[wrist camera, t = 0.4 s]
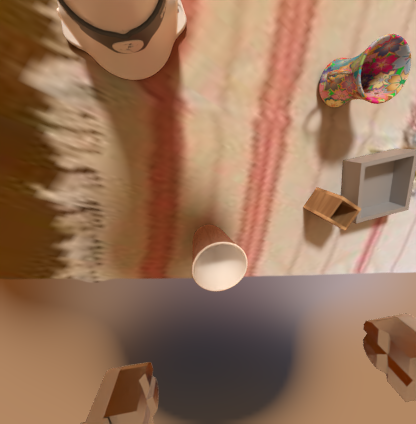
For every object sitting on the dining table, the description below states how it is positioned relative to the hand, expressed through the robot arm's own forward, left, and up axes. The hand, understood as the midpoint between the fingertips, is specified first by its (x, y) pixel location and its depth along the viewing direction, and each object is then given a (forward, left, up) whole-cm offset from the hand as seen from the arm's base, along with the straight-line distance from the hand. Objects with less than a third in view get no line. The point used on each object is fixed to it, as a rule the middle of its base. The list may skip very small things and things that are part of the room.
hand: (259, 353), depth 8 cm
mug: (-11, +33, -39) cm, 52 cm away
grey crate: (+12, +44, -38) cm, 59 cm away
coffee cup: (+16, +3, -39) cm, 42 cm away
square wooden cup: (+14, +31, -38) cm, 51 cm away
